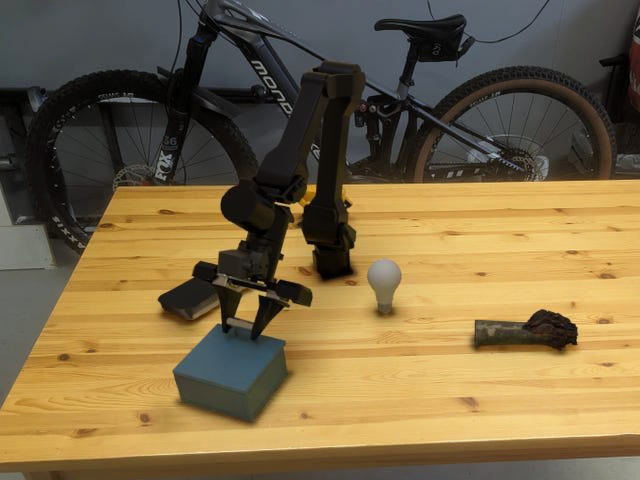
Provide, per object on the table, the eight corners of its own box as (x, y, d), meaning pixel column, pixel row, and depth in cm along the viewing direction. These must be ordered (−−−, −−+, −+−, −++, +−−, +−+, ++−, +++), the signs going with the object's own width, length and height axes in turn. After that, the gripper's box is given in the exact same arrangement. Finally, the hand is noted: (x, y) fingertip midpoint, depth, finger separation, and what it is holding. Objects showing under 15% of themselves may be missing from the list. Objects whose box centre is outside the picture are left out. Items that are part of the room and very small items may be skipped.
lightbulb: (405, 305, 124) (406, 255, 117) (394, 324, 120) (394, 274, 113) (375, 299, 126) (374, 249, 119) (363, 317, 121) (361, 267, 114)
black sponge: (187, 328, 118) (183, 312, 116) (157, 311, 122) (153, 295, 119) (256, 287, 128) (253, 271, 126) (226, 272, 132) (223, 256, 130)
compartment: (221, 356, 113) (215, 329, 109) (288, 374, 109) (284, 347, 106) (181, 401, 104) (173, 374, 100) (251, 422, 101) (245, 395, 97)
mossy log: (474, 351, 115) (476, 326, 111) (473, 327, 120) (475, 302, 116) (576, 355, 114) (582, 329, 110) (571, 331, 119) (576, 306, 116)
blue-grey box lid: (218, 326, 109) (213, 304, 106) (286, 344, 106) (283, 321, 103) (173, 374, 100) (166, 351, 97) (245, 394, 97) (240, 371, 94)
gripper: (185, 215, 99) (157, 315, 98) (296, 238, 95) (268, 344, 94) (223, 235, 110) (198, 326, 109) (325, 257, 105) (299, 352, 104)
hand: (238, 336), depth 104 cm, fingers closed on blue-grey box lid, 4 cm apart
